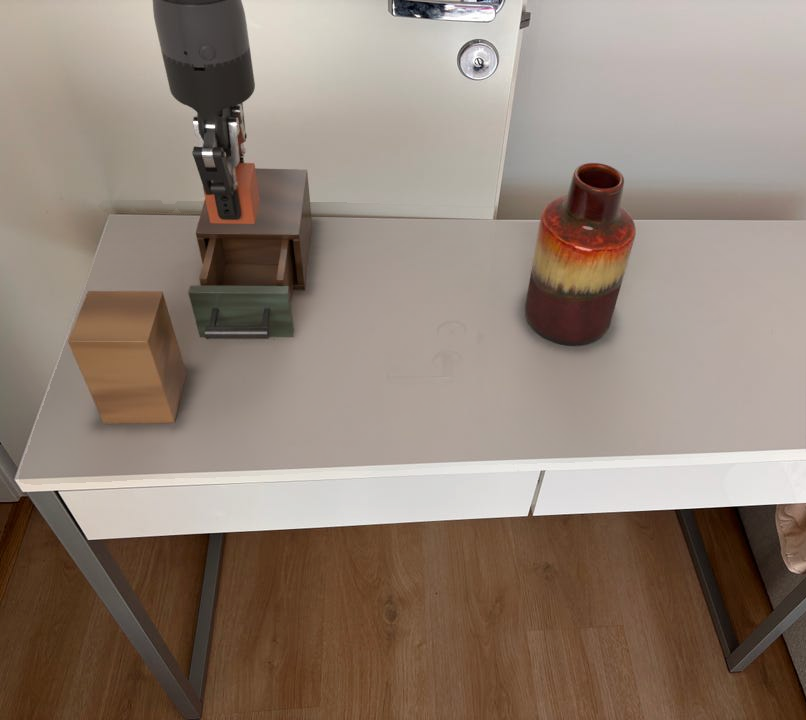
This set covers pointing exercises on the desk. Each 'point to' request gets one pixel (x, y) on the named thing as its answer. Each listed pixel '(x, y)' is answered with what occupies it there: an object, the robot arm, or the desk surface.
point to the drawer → (245, 289)
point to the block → (240, 196)
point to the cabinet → (272, 217)
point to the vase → (580, 258)
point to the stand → (129, 356)
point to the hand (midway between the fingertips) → (233, 202)
